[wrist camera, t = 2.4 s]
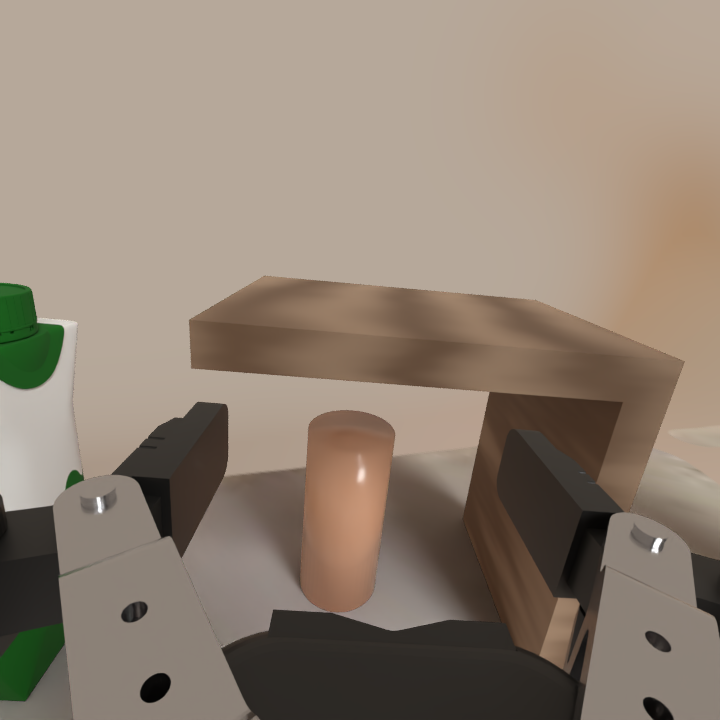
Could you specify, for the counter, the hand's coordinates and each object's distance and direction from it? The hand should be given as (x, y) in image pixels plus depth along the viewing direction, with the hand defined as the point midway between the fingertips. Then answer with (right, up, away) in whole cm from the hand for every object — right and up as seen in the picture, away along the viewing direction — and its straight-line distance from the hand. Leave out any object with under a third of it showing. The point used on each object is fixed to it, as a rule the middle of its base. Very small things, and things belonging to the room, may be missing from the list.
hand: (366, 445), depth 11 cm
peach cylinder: (-2, -13, +17) cm, 22 cm away
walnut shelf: (+1, -13, +17) cm, 22 cm away
